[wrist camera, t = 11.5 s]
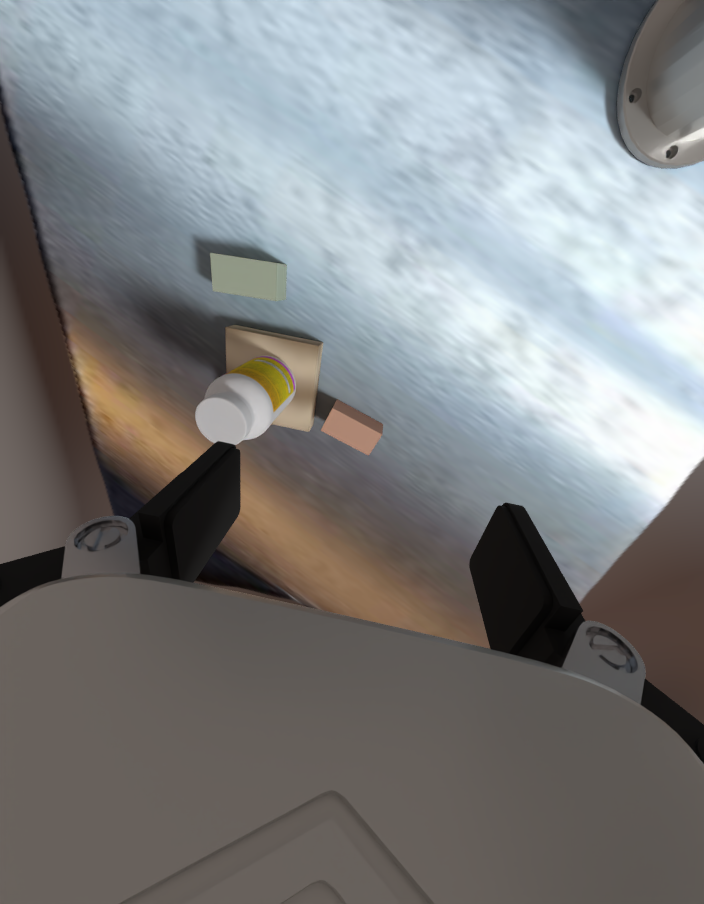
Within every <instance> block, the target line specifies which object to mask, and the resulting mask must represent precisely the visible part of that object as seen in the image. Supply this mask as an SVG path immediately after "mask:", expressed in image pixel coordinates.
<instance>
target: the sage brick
mask: <svg viewBox="0 0 704 904" xmlns="http://www.w3.org/2000/svg"><path fill="white" fill-rule="evenodd" d="M210 259H211V272H212V286H213V291H216V292H222V293H229V294H235V295H241V296H248V297H254V298H260V299H266V300H273V301H280V300H286V275H287V265H285V264H279V263H273V262H267V261H260V260H254V259H247V258H241V257H234V256H228V255H221V254H215V253H210Z"/></svg>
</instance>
